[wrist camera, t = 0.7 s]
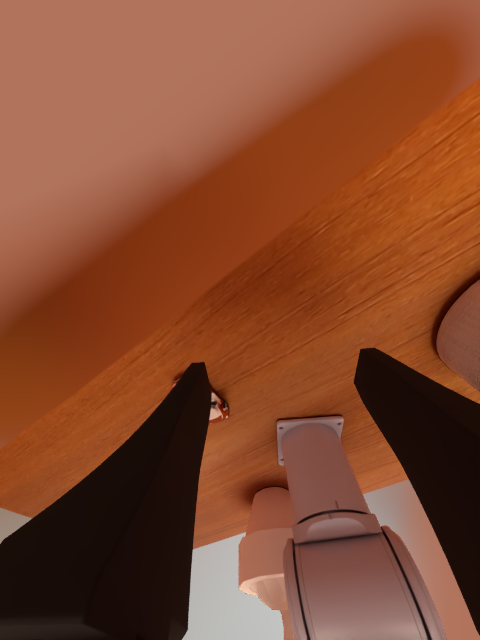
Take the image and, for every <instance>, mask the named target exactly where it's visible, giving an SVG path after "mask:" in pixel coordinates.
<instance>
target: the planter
mask: <svg viewBox="0 0 480 640" xmlns="http://www.w3.org/2000/svg"><path fill="white" fill-rule="evenodd" d="M436 344H437V352H438V355H439V357H440V358H441V360H442V361H443V362H444V363H445V364H446V365H447V366H448V367H449V368H450V369H451V370H452V371H453V372H455V373H456V374H457V375H458V376H460V377H461V378H462V379H464V380H465V381H466V382H468V383H469V384H470V385H471V386H473V387H474V388H475V389H477V390H478V391H479V392H480V279H479V280H478V281H476V282H475V283H474V284H473V285H472V286H470V287H469V288H468V289H467V290H466V291H465V292H464V293H463V294H462V295H461V296H460V297H459V298H458V299H457V300H456V301H455V302H454V304H453V305H452V306H451V308H450V309H449V311H448V312H447V314H446V315H445V317H444V319H443V321H442V323H441V326H440V328H439V331H438V335H437V343H436Z"/></svg>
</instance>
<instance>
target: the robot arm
mask: <svg viewBox="0 0 480 640" xmlns="http://www.w3.org/2000/svg"><path fill="white" fill-rule="evenodd" d="M354 384H355V386H356V388H357V391H358V393H359V395H360V397H361V399H362V401H363V403H364V405H365V407H366V408H367V410H368V411H369V413H370V415H371V416H372V418H373V420H374V421H375V423H376V424H377V426H378V427H379V429H380V431H381V432H382V434H383V435H384V437H385V439H386V440H387V442H388V443H389V445H390V446H391V448H392V450H393V451H394V453H395V455H396V456H397V458H398V460H399V461H400V463H401V465H402V467H403V469H404V471H405V473H406V475H407V476H408V478H409V480H410V482H411V484H412V486H413V488H414V490H415V492H416V494H417V496H418V498H419V500H420V502H421V504H422V506H423V508H424V511H425V513H426V515H427V517H428V519H429V521H430V523H431V525H432V527H433V529H434V532H435V534H436V536H437V538H438V540H439V543H440V545H441V547H442V549H443V551H444V553H445V555H446V558H447V560H448V562H449V565H450V567H451V569H452V572H453V574H454V576H455V579H456V581H457V584H458V586H459V588H460V590H461V593H462V595H463V598H464V600H465V602H466V605H467V607H468V609H469V612H470V615H471V617H472V620H473V622H474V625H475V627H476V630H477V632H478V633H479V635H480V404H478V403H476V402H474V401H472V400H470V399H468V398H466V397H464V396H462V395H460V394H458V393H456V392H454V391H452V390H450V389H448V388H446V387H444V386H442V385H441V384H439V383H437V382H435V381H433V380H431V379H429V378H428V377H426V376H424V375H422V374H420V373H419V372H417V371H415V370H413V369H412V368H410V367H408V366H406V365H405V364H403V363H401V362H399V361H398V360H396V359H394V358H392V357H391V356H389V355H387V354H385V353H383V352H382V351H380V350H378V349H376V348H366V349H360V354H359V359H358V364H357V368H356V373H355V378H354ZM211 397H212V392H211V388H210V383H209V379H208V375H207V371H206V366H205V362H200V363H192V364H191V365H190V366H189V367H188V369H187V370H186V371H185V373H184V374H183V375H182V377H181V378H180V380H179V381H178V382H177V384H176V385H175V386H174V388H173V389H172V390H171V391H170V393H169V394H168V395H167V396H166V398H165V399H164V400H163V401H162V403H161V404H160V405H159V406H158V407H157V408H156V410H155V411H154V412H153V413H152V414H151V415H150V417H149V418H148V419H147V420H146V421H145V422H144V423H143V424H142V425H141V426H140V428H139V429H138V430H137V431H136V432H135V433H134V434H133V435H132V436H131V437H130V438H129V439H128V440H127V441H126V442H125V443H124V444H123V445H122V446H120V447H119V448H118V449H117V450H116V451H115V452H114V453H113V454H112V455H111V456H109V457H108V458H107V459H106V460H105V461H104V462H103V463H102V464H101V465H100V466H98V467H97V468H96V469H95V470H94V471H93V472H91V473H90V474H89V475H88V476H87V477H85V478H84V479H83V480H82V481H81V482H79V483H78V484H77V485H76V486H74V487H73V488H72V489H71V490H69V491H68V492H67V493H66V494H64V495H63V496H62V497H61V498H59V499H58V500H57V501H55V502H54V503H53V504H52V505H50V506H49V507H47V508H46V509H45V510H43V511H42V512H41V513H39V514H38V515H37V516H35V517H34V518H33V519H31V520H30V521H29V522H27V523H26V524H25V525H23V526H22V527H20V528H19V529H18V530H17V531H15V532H14V533H12V534H11V535H9V536H8V537H7V538H5V539H4V540H3V541H2V543H1V544H0V640H182V638H183V637H184V635H185V634H186V632H187V630H188V611H189V595H190V578H191V563H192V550H193V537H194V525H195V513H196V502H197V492H198V482H199V474H200V467H201V461H202V456H203V451H204V445H205V440H206V435H207V429H208V424H209V418H210V411H211ZM343 422H344V419H343V417H342V416H331V417H318V418H305V419H292V420H280V421H278V422H277V423H276V424H277V446H278V463H279V465H285V470H286V475H287V481H288V487H289V493H290V498H291V504H292V510H293V516H294V521H295V525H292V532H293V538H289V539H288V540H287V543H286V546H285V548H284V551H283V570H284V581H285V589H286V596H287V603H288V609H289V615H290V620H291V624H292V629H293V633H294V637H295V640H446V636H445V632H444V629H443V626H442V623H441V620H440V618H439V615H438V613H437V610H436V608H435V605H434V603H433V601H432V598H431V596H430V594H429V592H428V589H427V587H426V585H425V583H424V581H423V578H422V576H421V574H420V573H419V570H418V568H417V566H416V564H415V562H414V560H413V558H412V557H411V555H410V553H409V551H408V549H407V548H406V546H405V545H404V543H403V541H402V540H401V538H400V537H399V536H398V535H397V534H396V533H395V532H393V531H392V530H391V529H390V528H389V527H388V526H381V527H380V525H379V523H378V520H377V518H376V516H375V514H371V513H370V510H369V508H368V506H367V503H366V501H365V499H364V496H363V494H362V492H361V489H360V487H359V484H358V482H357V480H356V477H355V475H354V473H353V470H352V468H351V466H350V463H349V461H348V459H347V456H346V454H345V451H344V449H343V447H342V444H341V442H340V438H341V433H342V428H343Z"/></svg>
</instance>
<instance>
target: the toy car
mask: <svg viewBox="0 0 480 640" xmlns="http://www.w3.org/2000/svg"><path fill="white" fill-rule="evenodd" d="M179 380H180V378H179V379H178V380H176V381H174V382H173V384H172V386H171V390H172V389H173V388H174V386H175V385H176V384H177V382H178V381H179ZM171 390H170V391H171ZM211 392H212V397H211V411H210V418H209V424H211V423H217V422H222V421H223V420H225V419H227V418H228V417H229V409H228V407H226V402H223V400H222V399H221V398H220V397H219V396H218V395H217V394H216V393H215V392H214V391H213V390H212V389H211Z"/></svg>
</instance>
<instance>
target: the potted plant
mask: <svg viewBox="0 0 480 640" xmlns="http://www.w3.org/2000/svg"><path fill="white" fill-rule="evenodd" d="M292 525H295V521H294V516H293V510H292V504H291V498H290V493H289V491H288V490H286V489H284V488H281V487H269V488H264V489H262V490H261V491H259V492H257V493H256V494H255V497H254V499H253V504H252V508H251V513H250V518H249V522H248V527H247V532H246V536H245V537H243V538H242V540H241V542H240V544H239V589H241V590H242V591H243V592H245V593H246V594H250V595H255V596H258V598H259V599H260V600H261V601H262V602H264V603H265V604H266V605H267V606H269V607H270V608H271V609H272V610H280V612H281V614H282V620H283V626H284V640H295V637H294V633H293V629H292V624H291V620H290V615H289V610H288V603H287V596H286V589H285V581H284V570H283V551H284V548H285V546H286V543H287V540H288V539H289V538H293V532H292Z"/></svg>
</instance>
